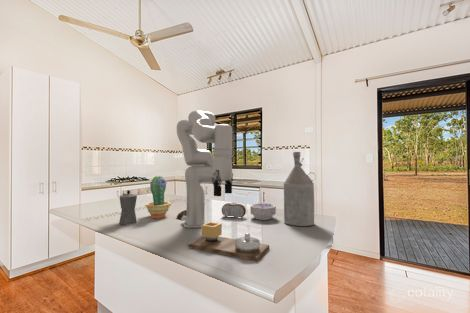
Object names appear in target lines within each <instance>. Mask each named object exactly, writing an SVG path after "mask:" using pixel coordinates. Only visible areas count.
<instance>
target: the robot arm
mask: <svg viewBox="0 0 470 313" xmlns="http://www.w3.org/2000/svg"><path fill="white" fill-rule="evenodd" d="M187 117H188V119H181V120H179V121H178V122H177V123H176V135H177V138H178V141H179V142H180V144H181V147H182V153H183V157H184V162H185V164H186V165H187V166H188V167H187V168H186V169H185V170H184V171H185V172H184V178H185V184H186V186H185V187H186V210H187V216H183V217H182V218H181V220H180V221H184V222H183V227H185V228H187V229H199V228H201V227H202V225H203V224H206V223H208V222H207V221H206V220H205V208H206V207H205V204H206V203H205V201H206V199H205V198H206V196H205V190H204V188H203V187H202V185H201V184H212V185H213V196H214V197H222V186H221V185H222V182H225V183H224V194H232V193H233V181H234V180H233V177H234V173H233V162H232V161H233V160H232V158H233V127H232V125H230V124H227V123H222V124H221V123H220V124H216V115H214V113H212V112H210V111H203V110H193V111H191V112H190V113H189V114H188V116H187ZM215 124H216V125H215ZM192 136H193V137H192ZM196 140H197V141H196ZM197 142H198V143H199V142H200V143H204V144H214V145H213V146H214V150H213V152H214V154H213V153H212V152H211V151H210V150H207V149H200V148H199V147H198V144H197Z"/></svg>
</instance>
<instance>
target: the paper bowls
mask: <svg viewBox="0 0 470 313" xmlns="http://www.w3.org/2000/svg"><path fill="white" fill-rule="evenodd" d="M249 207H250V214H251V215H253V217H254V219H255V218H256V220H258V219H259V220H258V221H267V220H272V218H273V217H274V216H275V215H277V211H276V210H277V209H276V205H275V204H273V203H265V202H264V203H253V204H251V205H250V206H249Z"/></svg>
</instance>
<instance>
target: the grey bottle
mask: <svg viewBox="0 0 470 313" xmlns="http://www.w3.org/2000/svg"><path fill="white" fill-rule="evenodd" d="M292 156H293V164H294V166H293V168H292V170H290V173H289V175H288V176H287V178H286V179H285V181H284V182H283V217H284V218H283V220H284V221H283V222H284V224H286V225H290V226H295V227H296V226H297V227H310V226H313V225H315V189H314V187H315V186H314V185H315V184H314V180H317V179H316V177H317V175H316V174H315V172H309V173H306V172H305V171H304V169H303V167H302V166H303V164H302V162H303V160H304V157H302V159H301V152H300V151H293V152H292ZM310 174H313V175H314V176H315V177H314V179H313V180H312V179H311V177H310V176H309V175H310Z"/></svg>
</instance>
